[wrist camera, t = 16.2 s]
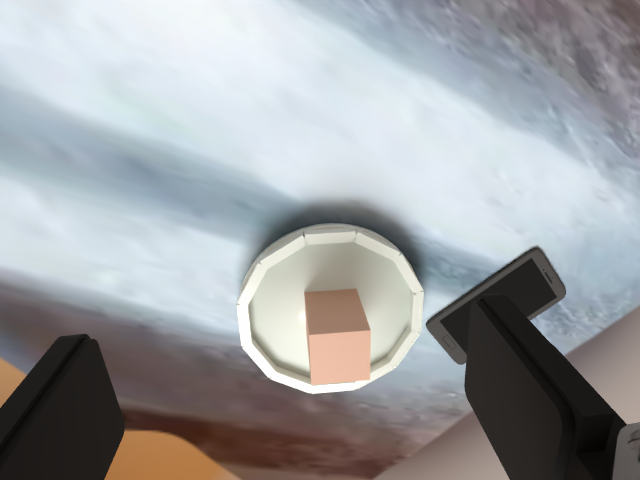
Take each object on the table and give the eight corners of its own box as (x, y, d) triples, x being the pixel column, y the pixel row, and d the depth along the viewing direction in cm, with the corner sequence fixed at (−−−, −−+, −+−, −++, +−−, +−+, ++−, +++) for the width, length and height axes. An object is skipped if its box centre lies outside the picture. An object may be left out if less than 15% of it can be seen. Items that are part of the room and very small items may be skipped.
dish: (421, 215, 40) (430, 224, 38) (411, 369, 47) (418, 385, 45) (229, 226, 39) (226, 237, 37) (247, 383, 46) (246, 400, 44)
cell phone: (421, 321, 45) (423, 325, 45) (535, 243, 43) (539, 246, 42) (456, 363, 48) (459, 367, 47) (565, 291, 46) (569, 294, 45)
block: (356, 288, 41) (370, 330, 34) (356, 332, 43) (369, 379, 36) (304, 292, 41) (308, 335, 34) (306, 336, 42) (311, 384, 36)
